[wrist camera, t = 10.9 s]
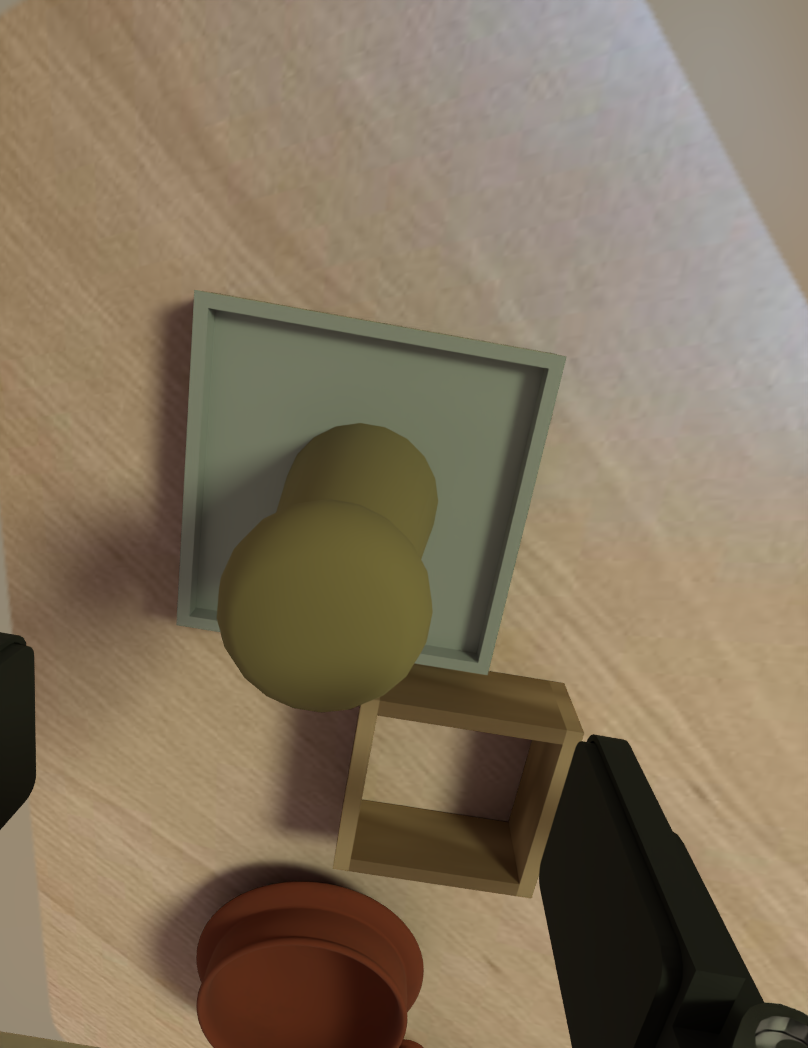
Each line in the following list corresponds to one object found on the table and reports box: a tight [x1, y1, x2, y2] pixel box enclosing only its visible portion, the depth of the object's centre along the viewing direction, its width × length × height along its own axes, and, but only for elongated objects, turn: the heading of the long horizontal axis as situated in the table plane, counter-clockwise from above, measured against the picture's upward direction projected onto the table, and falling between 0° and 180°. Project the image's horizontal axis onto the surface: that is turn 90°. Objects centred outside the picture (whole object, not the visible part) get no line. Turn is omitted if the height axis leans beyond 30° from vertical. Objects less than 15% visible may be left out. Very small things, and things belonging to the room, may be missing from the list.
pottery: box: [197, 882, 424, 1048], centre depth 32 cm, size 12×20×4 cm, turn 25°
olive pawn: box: [217, 423, 438, 712], centre depth 18 cm, size 6×6×11 cm
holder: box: [333, 663, 584, 898], centre depth 27 cm, size 9×9×4 cm
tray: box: [177, 290, 566, 675], centre depth 24 cm, size 13×13×2 cm
